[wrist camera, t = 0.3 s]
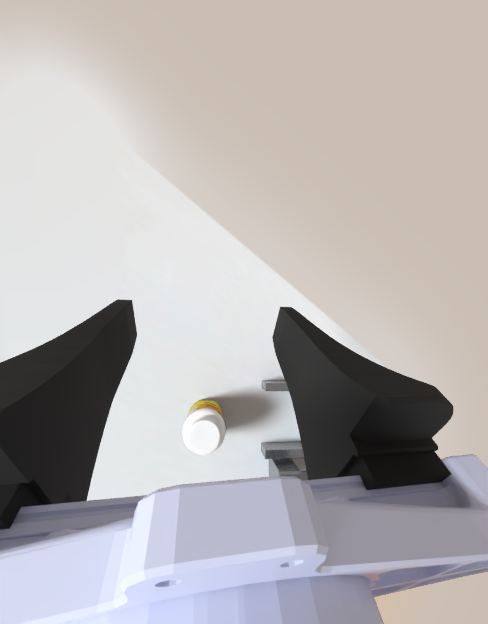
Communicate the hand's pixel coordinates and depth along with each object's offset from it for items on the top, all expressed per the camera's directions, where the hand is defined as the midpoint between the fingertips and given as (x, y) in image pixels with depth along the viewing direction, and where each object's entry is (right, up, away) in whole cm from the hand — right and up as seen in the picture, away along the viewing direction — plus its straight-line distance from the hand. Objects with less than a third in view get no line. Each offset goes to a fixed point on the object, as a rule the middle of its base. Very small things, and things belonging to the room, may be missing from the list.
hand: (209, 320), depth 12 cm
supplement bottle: (-4, -16, +26) cm, 31 cm away
